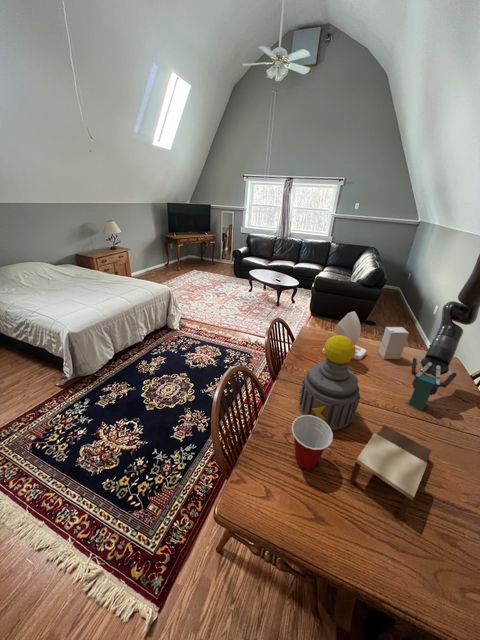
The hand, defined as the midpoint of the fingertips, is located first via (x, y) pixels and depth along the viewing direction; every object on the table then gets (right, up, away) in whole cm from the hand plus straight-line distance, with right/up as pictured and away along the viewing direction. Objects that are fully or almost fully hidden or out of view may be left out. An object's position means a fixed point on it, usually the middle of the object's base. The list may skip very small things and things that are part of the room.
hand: (422, 390), depth 95 cm
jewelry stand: (-15, +8, +34) cm, 39 cm away
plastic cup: (-46, -15, -19) cm, 52 cm away
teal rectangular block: (+1, -6, +4) cm, 8 cm away
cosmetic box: (+7, +7, +35) cm, 36 cm away
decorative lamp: (-35, -7, -1) cm, 36 cm away
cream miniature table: (-23, -17, -20) cm, 35 cm away
